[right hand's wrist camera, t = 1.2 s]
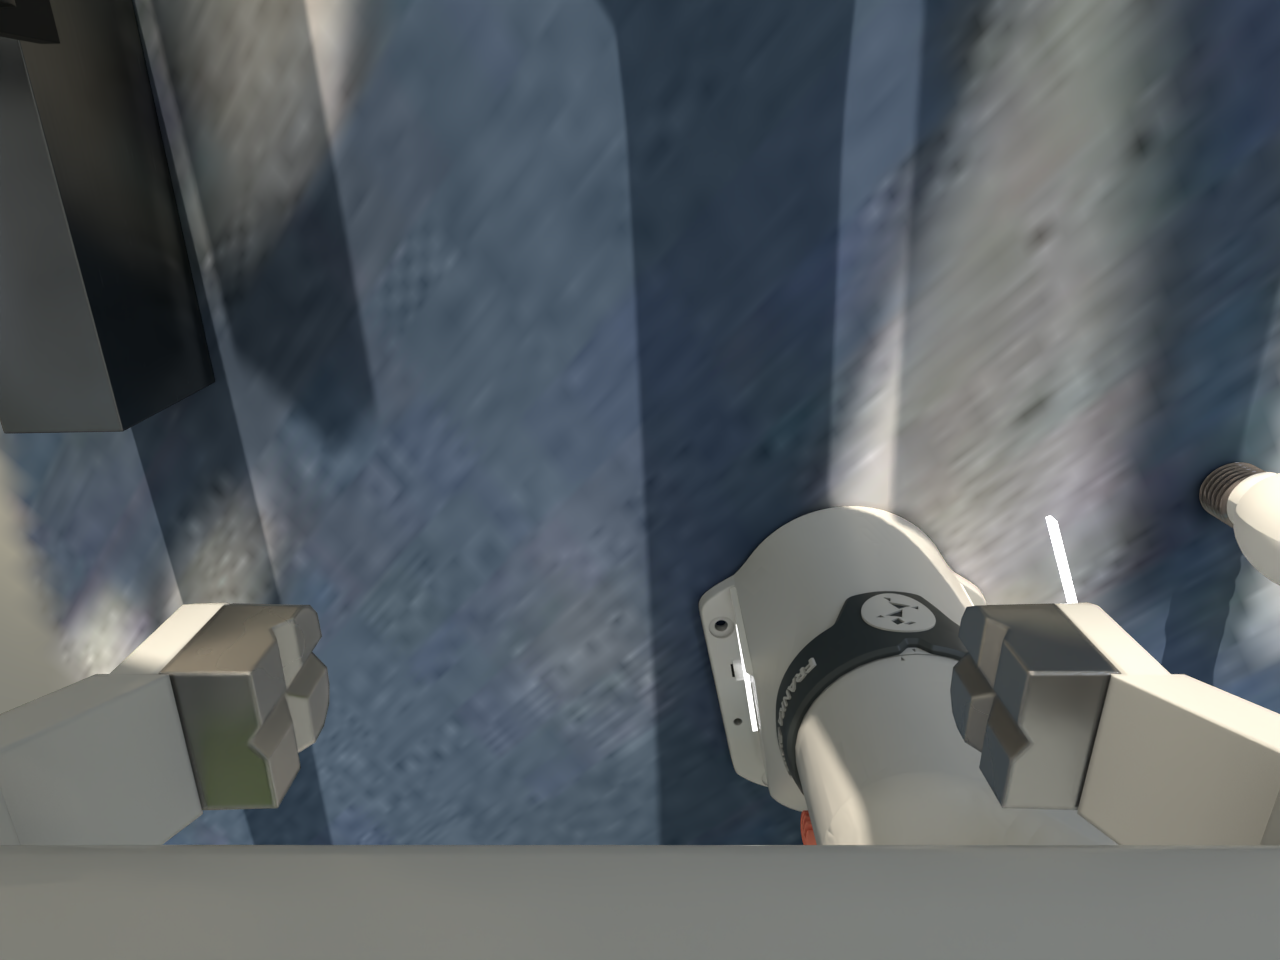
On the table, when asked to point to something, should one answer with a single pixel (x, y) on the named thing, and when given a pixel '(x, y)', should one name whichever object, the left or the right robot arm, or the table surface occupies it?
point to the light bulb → (1248, 511)
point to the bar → (90, 235)
